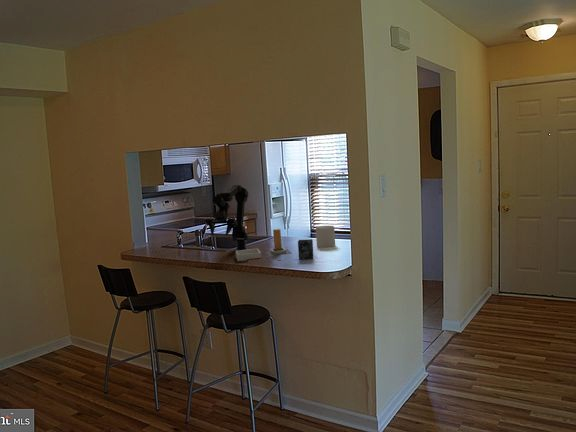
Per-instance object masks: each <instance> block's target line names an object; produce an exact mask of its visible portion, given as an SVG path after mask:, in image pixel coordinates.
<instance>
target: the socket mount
mask: <svg viewBox="0 0 576 432" xmlns="http://www.w3.org/2000/svg"><path fill="white" fill-rule="evenodd" d="M265 254H266V255H267V256H268V257H273V256H282V255H284V256H285V255H292V254H293V253H292V252H291V250H289V249H286V248H285V247H282V250H277V251H275V249H274V248H270V250H269V251H265Z"/></svg>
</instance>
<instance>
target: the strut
mask: <svg viewBox="0 0 576 432" xmlns="http://www.w3.org/2000/svg"><path fill="white" fill-rule="evenodd" d="M272 231H273V233H272V234H273V245H274V247H273V249H275V251H277V250H282V248H283V246H282V235H281V234H282V233H281V229H280V228H276V229H272Z"/></svg>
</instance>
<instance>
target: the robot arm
mask: <svg viewBox="0 0 576 432" xmlns="http://www.w3.org/2000/svg"><path fill="white" fill-rule="evenodd" d="M233 197H234V199H235V202H236V214H235V216H236V217H235V218H234V217H229V214H228V213H229V209H230V208H231V206H230V204H229V203H230V202H231V201H232V200H233ZM248 198H249V191H248V190H247V189H246V188H244V187H242V185H241V184H240V185H239V184H233V185H232V186H231V187H230V188H228V190H226V191H222V192H219V193H217V194H216V195H215V196H214V197H213V198H212V203H213V205H215V206H216V207H217V208H218V209H217V211H216V212H215V211H214V212H212V218H206V219H205V222H204V223H205V224H206V225H207V226H208V227H209V229H210V235H211V237H213V236H214V233H215V229H216V225H218V224H219V225H220V224H221V225H223V224H226V231H225V236H227V237H228V235H229V233H231V236H232V241H235V242H236V248H235V251H238V250H247V249H248V248H247V246H246V245H247V244H246V241H248V240H249V235H248V234H247V231H246V228H245V226H244V222H245V221H244V220H245V219H244V218H245V216H244V215H245V204H246V203H247V201H248ZM214 219H215V220H214ZM231 231H232V232H231Z"/></svg>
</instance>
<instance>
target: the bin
mask: <svg viewBox="0 0 576 432" xmlns="http://www.w3.org/2000/svg"><path fill="white" fill-rule="evenodd" d="M235 258H236V260H237V262H239V261H241V262H246V261H249V260H251V259H259V258H260V259H261V258H262V252H261V251H260V249H259V248H250V249H248V248H247V249H246V250H235ZM239 263H240V262H239Z"/></svg>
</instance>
